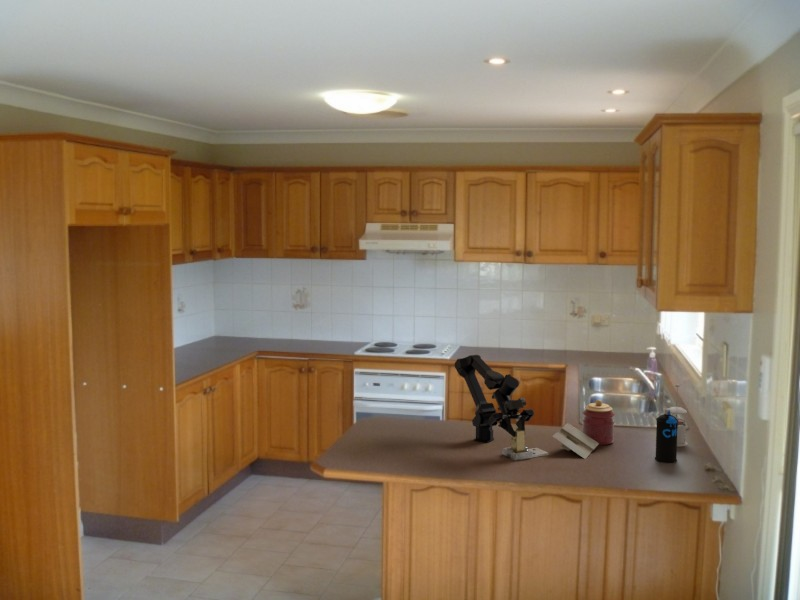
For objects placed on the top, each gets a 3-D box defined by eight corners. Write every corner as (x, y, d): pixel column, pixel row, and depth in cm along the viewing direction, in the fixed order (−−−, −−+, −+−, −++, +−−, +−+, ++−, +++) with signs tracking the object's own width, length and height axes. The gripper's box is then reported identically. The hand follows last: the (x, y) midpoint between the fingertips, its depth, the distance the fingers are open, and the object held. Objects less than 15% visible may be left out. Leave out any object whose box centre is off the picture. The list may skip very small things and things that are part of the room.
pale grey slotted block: (587, 455, 324) (560, 428, 328) (600, 443, 319) (573, 416, 323) (571, 472, 311) (544, 444, 315) (585, 459, 306) (557, 431, 310)
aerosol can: (650, 457, 307) (651, 407, 305) (667, 455, 310) (669, 405, 308) (664, 464, 300) (666, 412, 298) (681, 461, 302) (683, 410, 300)
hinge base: (513, 460, 303) (513, 452, 303) (501, 454, 311) (501, 446, 311) (549, 455, 310) (549, 447, 310) (536, 449, 318) (536, 441, 318)
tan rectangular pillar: (510, 454, 310) (510, 429, 310) (518, 453, 312) (518, 428, 311) (516, 457, 306) (516, 431, 306) (524, 455, 308) (524, 430, 307)
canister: (618, 440, 332) (619, 399, 330) (606, 447, 322) (607, 404, 320) (589, 435, 340) (590, 394, 338) (576, 441, 329) (577, 400, 327)
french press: (670, 447, 322) (672, 386, 319) (656, 439, 333) (658, 381, 331) (692, 445, 324) (694, 385, 321) (677, 438, 335) (679, 380, 332)
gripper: (492, 393, 306) (507, 428, 298) (532, 388, 314) (548, 422, 306) (481, 408, 314) (496, 442, 305) (520, 403, 322) (536, 437, 313)
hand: (519, 435), depth 307 cm, fingers open, 4 cm apart
